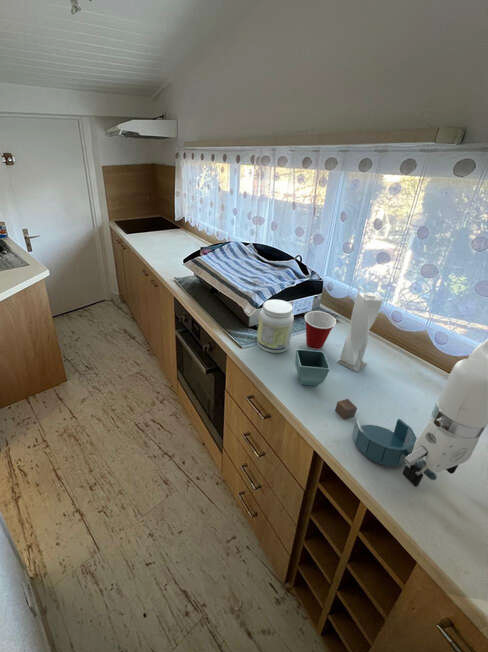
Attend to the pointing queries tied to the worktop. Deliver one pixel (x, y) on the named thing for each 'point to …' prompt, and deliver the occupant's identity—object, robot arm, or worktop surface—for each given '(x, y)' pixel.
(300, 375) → the flower pot
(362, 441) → the teal handled scoop
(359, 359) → the skyscraper
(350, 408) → the block
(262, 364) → the worktop surface
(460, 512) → the worktop surface
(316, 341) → the plastic cup
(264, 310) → the supplement tub
